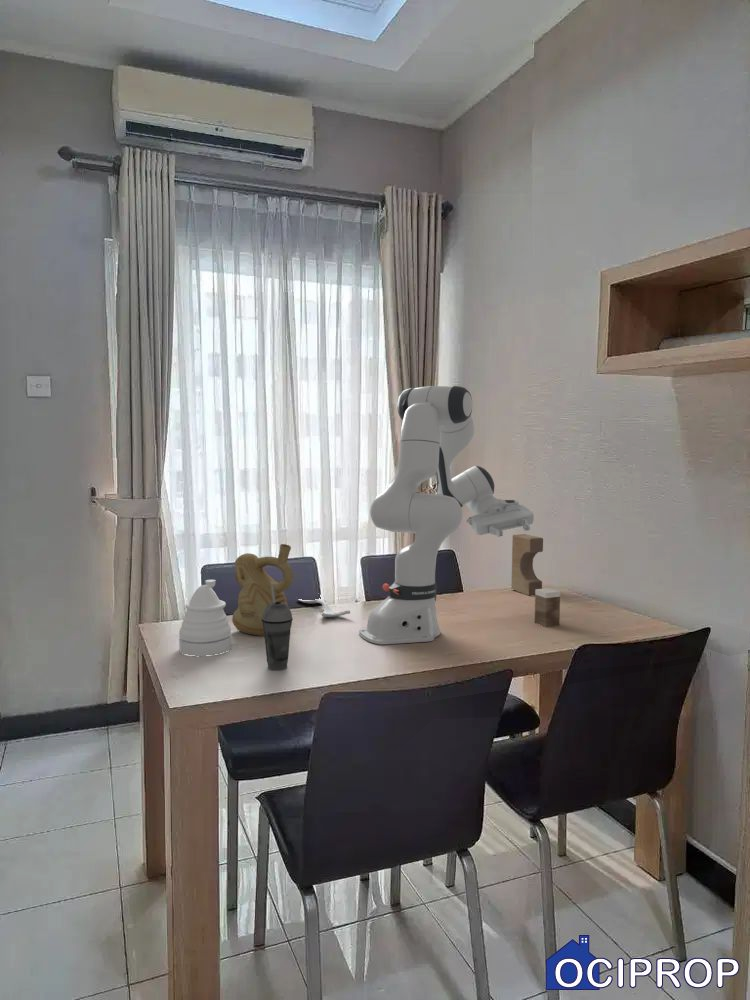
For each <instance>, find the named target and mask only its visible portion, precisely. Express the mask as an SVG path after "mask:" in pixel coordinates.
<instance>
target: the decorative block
mask: <svg viewBox="0 0 750 1000" xmlns="http://www.w3.org/2000/svg"><path fill="white" fill-rule="evenodd" d="M511 542H512V547H511V548H512V549H511V552H512V553H511V559H512V560H511V590H512V589H514V590H516V591H515V592H517V591H518V592H517V593H520V592H521V593H520V594H523V595H525V594H527V595H526V596H528V595H529V597H532V596H531V595H534V596H535V589H543V581H542V580H540V579H539V578H538V577H537V575H536V573H535V571H534V565H533V564H534V558H535V556H536V555H538V553H542V552H543V551H544V538H543V537H539V536H535V535H530V534H526V533H521V534H520V533H519V534H513V535H512V540H511ZM514 590H513V591H514Z"/></svg>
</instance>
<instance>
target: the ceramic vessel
mask: <svg viewBox="0 0 750 1000" xmlns="http://www.w3.org/2000/svg"><path fill="white" fill-rule="evenodd" d="M291 550H292V546H291V545H289V544H285V543H281V544H280V545H279V552H278V556H277V557H275V556H261V557H258V556H257V555H256V554H254V553H250V552H249V553H244V554H243V553H242V554H241V555H239V556H238V557H237V558H236V559H235V562H234V567H235V569H234V578H235V582H236V583H237V584H238V585H239V586H241V587H242V588H241V590H240V591H239V594H238V597H237V606H238V607H237V609H236V610H235V611H234V612H233V614H232V617H231V618H232V619H231V621H232V624H233V625H234V627H235V629H236V630H237V631H238V632H241V633H242V632H243V633H245V634H249V635H252V634H253V636H262V635H263V636H265V635H264V629H263V624H262V615H263V612H264V610H265V608H266V607H267V606H268V605H269V604H271V603H273V599H272V591H271V584H273V589H274V597H275V602H282V603H284V604H286V605H287V606H288V607H289V605H288V601H287V598H286V595H285V594H286V593H285V591H287V590H288V589H290V586H291V585H292V583H293V580H294V575H293V573H294V572H293V569H292V567H291V565H290V564H289V563H288V559H289V556H290V552H291ZM267 566H272V567H276V568H277V569H279V570H281V573H282V575H283V578H282V580H281V581H280V582H277V581H276V580H274V579H273V578H272V577H271V576H270V575H269V574H268V573H267V571H266V570H265V568H264V567H267Z"/></svg>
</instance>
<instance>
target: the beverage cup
mask: <svg viewBox="0 0 750 1000" xmlns="http://www.w3.org/2000/svg"><path fill="white" fill-rule="evenodd" d="M271 591H272V599H273V603H271V604H269V605H268V606H267V607H266V608H265V610H264V612H263V615H262V624H263V629H264V635H263V636H264V644H265V654H266V663H267V669H268V670H271V671H283V670H286V669H287V668H288V663H289V662H288V661H289V653H290V652H289V651H290V640H291V628H292V624H293V620H294V619H293V614H292V612H291V609H290V607H289V605H288V604H287V605H288V606H287V605H286V604H284V603H282V602H275V597H274V589H273V584H271Z"/></svg>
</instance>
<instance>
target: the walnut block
mask: <svg viewBox="0 0 750 1000" xmlns="http://www.w3.org/2000/svg"><path fill="white" fill-rule="evenodd" d="M560 611H561V590H557V589H553V588H550V587H547V588H546V587H545V588H542V589H535V595H534V623H535V624H536V623H537V624H536V625H539V624H540V625H539V626H541V625H542V627H544V626H545V627H544V628H550V627H558V626H560V615H561V614H560V613H561V612H560ZM549 626H550V627H549Z"/></svg>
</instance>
